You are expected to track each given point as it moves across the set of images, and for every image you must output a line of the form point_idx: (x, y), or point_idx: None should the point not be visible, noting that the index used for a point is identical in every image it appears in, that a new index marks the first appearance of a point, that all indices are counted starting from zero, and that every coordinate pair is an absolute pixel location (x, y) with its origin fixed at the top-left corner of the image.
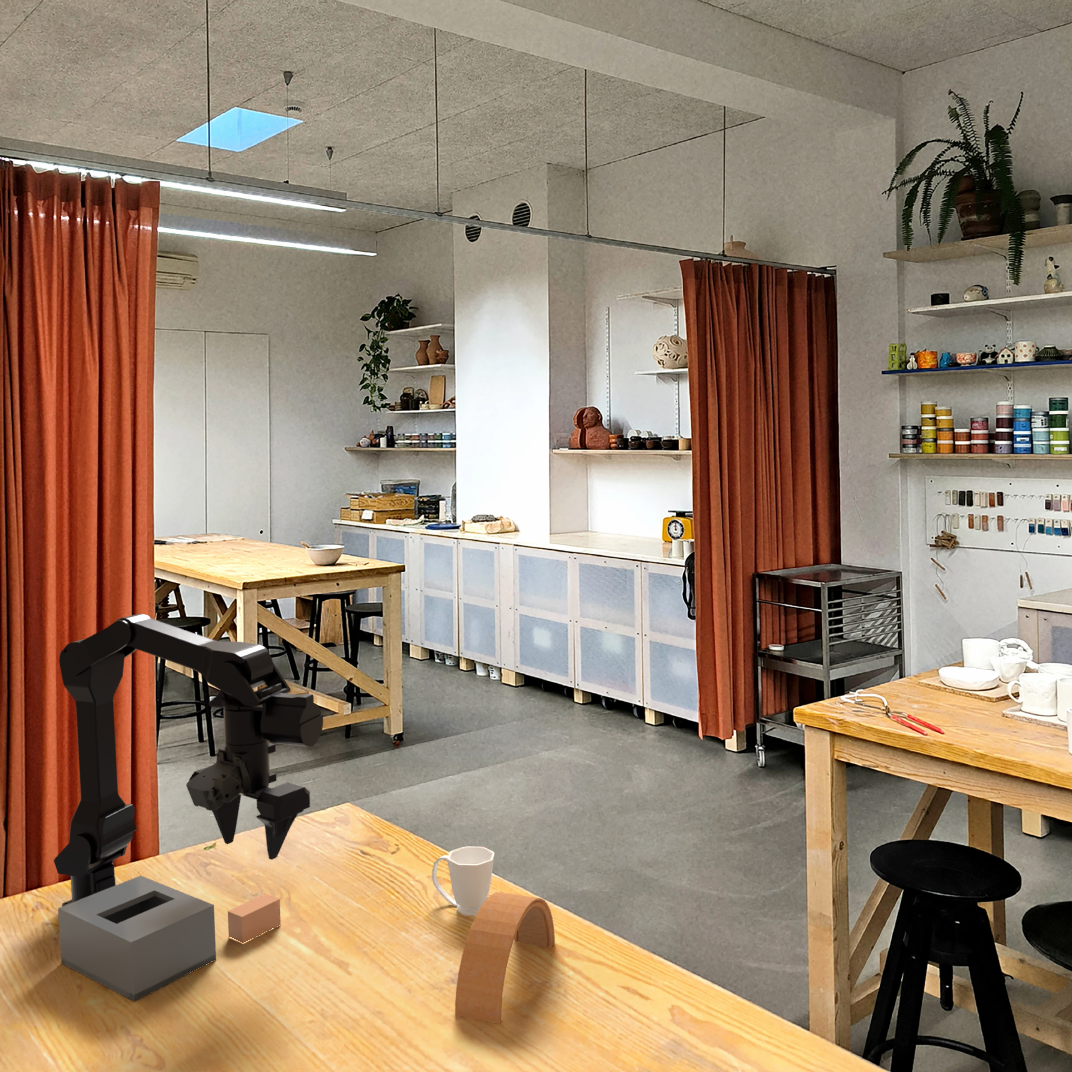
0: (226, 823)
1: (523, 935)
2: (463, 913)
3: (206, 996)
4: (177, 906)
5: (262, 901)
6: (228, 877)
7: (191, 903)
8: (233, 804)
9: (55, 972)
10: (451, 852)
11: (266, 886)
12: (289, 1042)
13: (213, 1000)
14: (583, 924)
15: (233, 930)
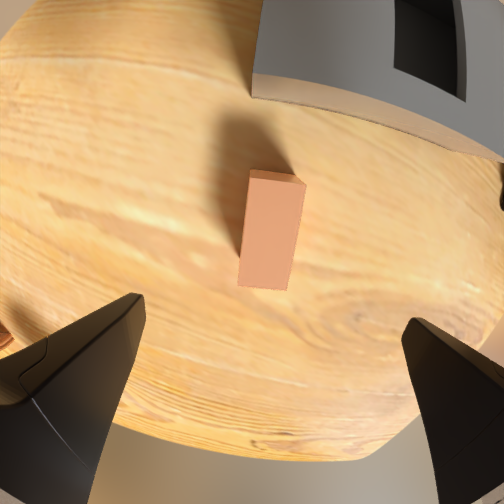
0: (450, 377)
1: (1, 336)
2: None
3: (171, 15)
4: (347, 28)
5: (265, 260)
6: None
7: (327, 55)
8: (455, 458)
9: None
10: None
11: (356, 341)
12: (18, 46)
13: (152, 16)
14: None
15: (281, 175)
